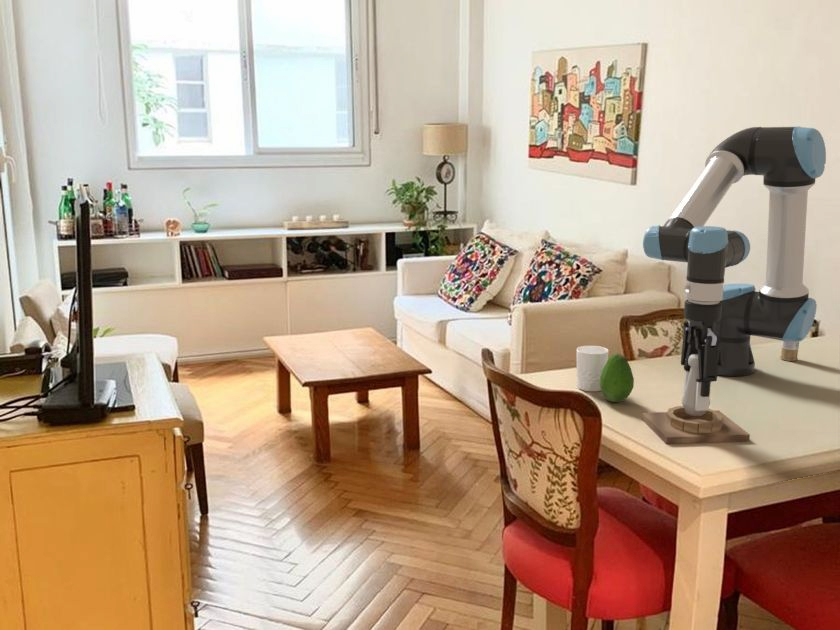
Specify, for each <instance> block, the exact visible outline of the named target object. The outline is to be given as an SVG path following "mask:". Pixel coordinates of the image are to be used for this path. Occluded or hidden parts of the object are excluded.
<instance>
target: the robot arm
mask: <svg viewBox="0 0 840 630" xmlns="http://www.w3.org/2000/svg"><path fill="white" fill-rule="evenodd" d="M825 144H826V143H825V139H824V137H823V136H822V134H821V132H820V131H819V130H818V129H816V128H814V127H802V126H773V127H772V126H766V127H765V126H763V127H762V126H752V127H749V128H744V129H742V130H740V131H737V132H736V133H733V134H731V135H730V136H728V137H727V138H726V139H725V138H724V140H722V141H721V142H720V143H719V144H717V145H716V146H715V147H714V148H713V149H712V151H711V152H710V153H709V155H708V156H707V157H706V160H705V163H704V164H705V165H704V169H703V171H702V172H701V173H700V175H698V177H697V179H696V180H695V182H694V183H693V184H692V185H691V187H690V188H689V190H688V191H687V193H685V195H684V196H683V198H682V199H681V201H680V202H679V204H678V205H677V206H676V208H675V209H674V211H673V212H672V214H671V215H670V216H669V218H668V219H667V220H666V222H665V223H664V224H663V226H661V225H660V224H659V225H652V226H650V227H648V228H647V229H646V230H645V233H644V235H643V239H642V248H643V252H644V254H645V255H646V257H648V258H649V259H656V260H660V261H669V262H676V263H677V262H678V263H687V264H686V265H687V267H686V281H685V282H686V283H685V284H686V285H683V289H684V290H685V299H686V300H685V301H684V305H683V306H684V307H683V317H684V318H685V319H686V320H688V321H683V323H682V324H683V325H682V327H683V328H682V329H683V335H682V343H681V344H682V347H681V355H680V364H681V365H680V366H683V370H684V380H683V381H684V382H683V394H684V391H685V387H686V384H687V380H688V377H689V373H690V369H691V366H689V364H688V359H689V356H691V355H693V354H698V361H699V379H696V382H697V388H696V401H695V410H696V411H701V410H709V409H710V405H709V399H710V396H711V387H712V386H711V384H712V382H717V379H718V376H727V377H742V376H743V377H744V376H749V375H752V374H754V373H755V366H756V362H755V358H754V355H753V350H752V347H751V336H753V337H758V338H759V337H760V338H765V339H771V340H777V341H781V342H782V341H783V342H785V341H790V342H799V343H800V342H802V341H804V340H805V338H807V336H808V335H809V333H810V331H811V328H812V326H813V324H814V321H815V317H816V314H817V301H816V299H814V298H813V297H809V294H810V293H809V291H810V290H809V287H807V286H806V285H805V284H804V265H805V264H804V263H805V262H804V261H805V249H806V247H805V245H806V231H807V230H806V228H807V226H806V225H807V213H808V212H807V211H808V194H809V190H810V189H811V188H812V187H813V186H814V185H815V184H816V179H817V178H820V177H821V176H822V175H823V174H824V172H825V165H826V161H827V152H826V145H825ZM749 175H751V176H752V175H753V176H763V177H762V178H763V180H762V181H763V186H764V187H765V188H767V190H768V191H769V194H768V195H769V199H768V200H769V201H768V221H767V222H768V224H767V242H766V243H767V246H766V247H767V248H766V270H765V271H766V272H765V283H763V284H762V285H761V286H760V287H759V289H758V291H756V286H755V284H750V283H727V284H725V272H726V268H728V267H730V268H731V267H734V266H737V265H739V264H740V263H742V262H744V261H745V260H746V259H747V257H749V255H750V251H751V243H750V240H749V238H748V237H747V235H745V233H743V232H741V231H738V230H729V229H728V230H727V229H726V228H725V227H722V226H721V227H720V226H715V225H714V226H711V225H709V226H708V225H707V226H706V225H705V224H706V223H707V222H708V220H709V219H710V217H711V216H712V214H713V213H714V212H715V210H716V208H717V207H718V205H719V204H721V203H720V202H722V200H723V198H724V196H725V195H726V194H727V192H728V191H729V190H730V188H731V187H732V186H733V185H734V184H736V183H738V182H739V181H741V179H742V178H743V177H744V176H749ZM710 400H711V399H710Z"/></svg>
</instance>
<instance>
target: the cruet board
mask: <svg viewBox="0 0 840 630" xmlns="http://www.w3.org/2000/svg"><path fill="white" fill-rule="evenodd" d="M641 420H642V422H644V423H645V424H646V425H647V426H648V427H649V428H650V430H652V431H653V433H655V434H656V436H658V437H659V438H660V440H662V441H663V443H665V445H675V444H676V445H677V444H678V445H679V444H703V443H704V444H709V443H712V444H713V443H734V442H736V443H737V442H740V443H741V442H750V436H751V435H750V433H749V432H748V431H746V430H744V428H742V427H741V426H740V425H739V424H737V423H736V422H735V421H733V420H732V419H731V418H729V417H728V416H727V415H726V414H724V413H723V412H722V411H720V410H718V409H717V410H713V409H711V408H709V410H707V411H706V413H705V414H704V415H702V416H692V415H689V414H686V412H685V409H684V407H683V405H678V406H673V407H670V408H668V410H667V411H663V412H662V411H661V412H660V411H659V412H658V411H657V412H655V411H654V412H642V413H641Z"/></svg>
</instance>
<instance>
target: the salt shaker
mask: <svg viewBox="0 0 840 630" xmlns="http://www.w3.org/2000/svg"><path fill="white" fill-rule="evenodd" d="M688 364H689V366H691V369H690V373H689V377H688V380H687V384H686V387H685V391H684V390H683V393H684V394H683V395H682V399H681V406H683V407H684V409H685V412H686V414H689V415H692V416H702V415H704V414H705V413H706V411H707V410H701V411H696V410H695V401H696V388H697V382H696V379H699V361H698V354H693V355H691V356H689V359H688ZM710 404H711V399H709V406H710Z"/></svg>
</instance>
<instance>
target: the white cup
mask: <svg viewBox="0 0 840 630" xmlns="http://www.w3.org/2000/svg"><path fill="white" fill-rule="evenodd" d="M609 351H610V350H609V349H608V348H606V347H604V346H600V345H582V346H578V347H577V348H576V377H577V378H576V379H577V381H576V383H577V385H576V387H577V389H579V390H582V391H585V392H602V391H601V387H600V376H601V373H602V371H603V368H604V366H605V365H606V363H607V361H608V359H609Z"/></svg>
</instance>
